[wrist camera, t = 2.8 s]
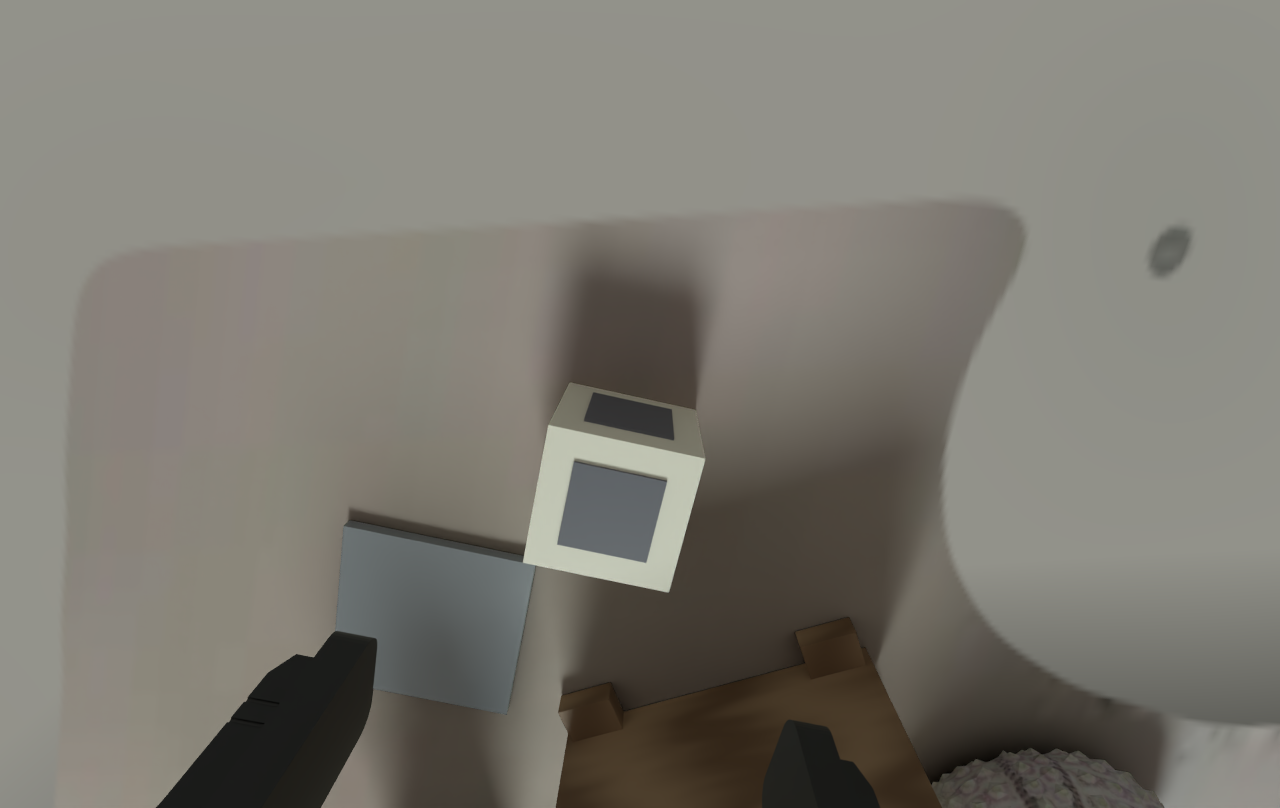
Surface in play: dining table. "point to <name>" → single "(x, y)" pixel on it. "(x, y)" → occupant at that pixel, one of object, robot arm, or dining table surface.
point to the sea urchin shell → (1041, 783)
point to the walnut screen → (739, 735)
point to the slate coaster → (435, 614)
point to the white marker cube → (615, 487)
